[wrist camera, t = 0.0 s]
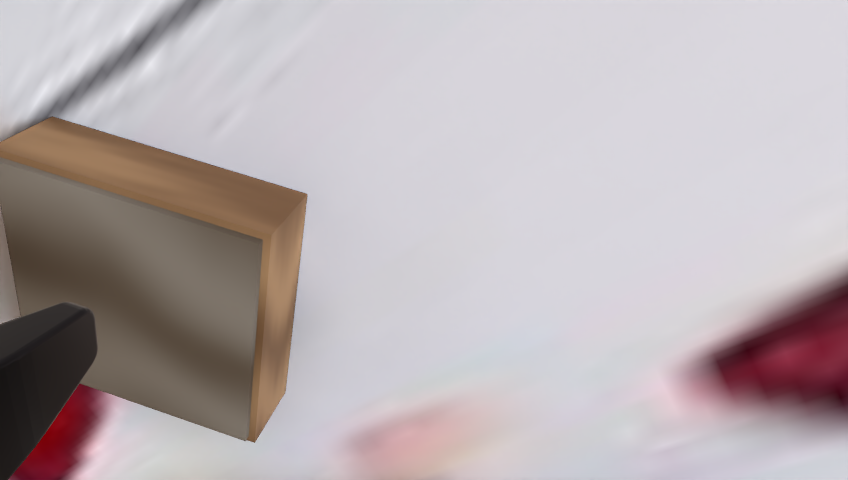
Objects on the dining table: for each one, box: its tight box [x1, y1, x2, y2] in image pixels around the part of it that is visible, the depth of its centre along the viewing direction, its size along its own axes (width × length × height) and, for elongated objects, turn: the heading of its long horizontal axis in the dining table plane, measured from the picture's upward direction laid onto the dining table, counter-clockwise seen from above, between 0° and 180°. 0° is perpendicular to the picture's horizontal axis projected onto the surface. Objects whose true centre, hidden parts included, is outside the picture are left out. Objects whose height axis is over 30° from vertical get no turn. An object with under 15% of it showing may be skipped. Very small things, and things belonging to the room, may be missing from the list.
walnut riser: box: [0, 117, 307, 443], centre depth 28 cm, size 11×11×4 cm
